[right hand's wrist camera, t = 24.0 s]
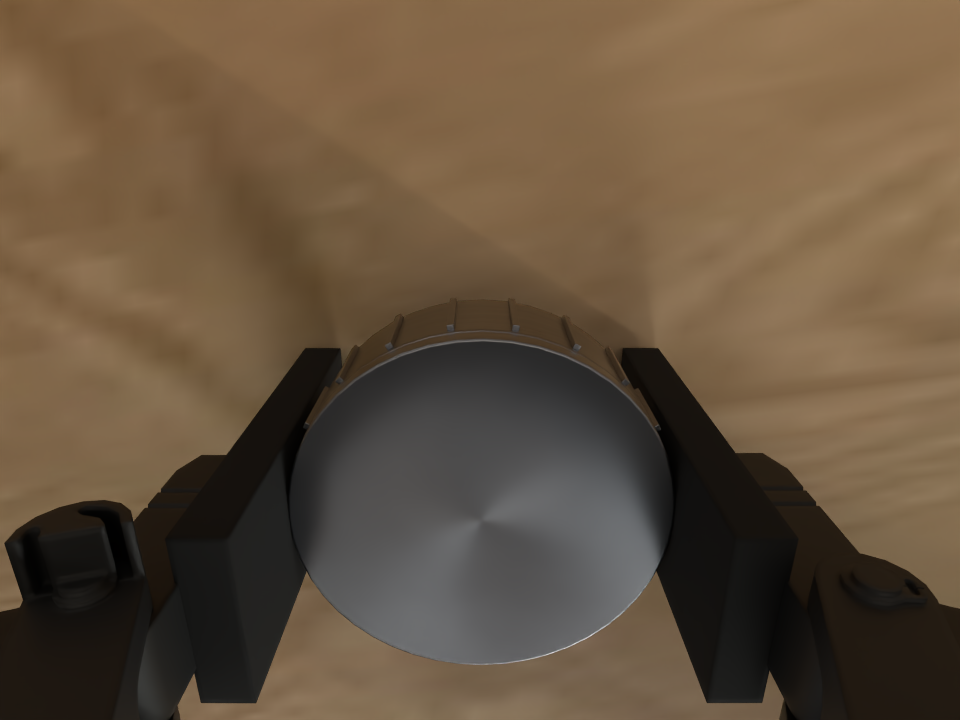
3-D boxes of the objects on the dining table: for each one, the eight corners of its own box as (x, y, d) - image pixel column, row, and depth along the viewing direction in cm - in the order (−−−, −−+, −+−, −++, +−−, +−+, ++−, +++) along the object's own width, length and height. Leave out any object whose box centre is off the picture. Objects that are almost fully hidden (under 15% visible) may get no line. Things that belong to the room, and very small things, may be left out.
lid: (665, 297, 11) (704, 337, 9) (630, 588, 13) (656, 668, 11) (299, 294, 11) (261, 334, 9) (328, 587, 13) (304, 667, 11)
